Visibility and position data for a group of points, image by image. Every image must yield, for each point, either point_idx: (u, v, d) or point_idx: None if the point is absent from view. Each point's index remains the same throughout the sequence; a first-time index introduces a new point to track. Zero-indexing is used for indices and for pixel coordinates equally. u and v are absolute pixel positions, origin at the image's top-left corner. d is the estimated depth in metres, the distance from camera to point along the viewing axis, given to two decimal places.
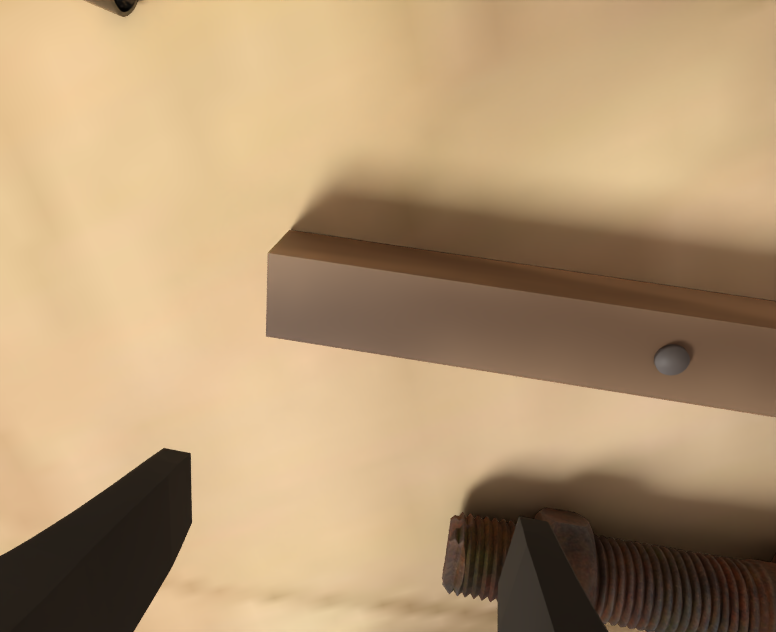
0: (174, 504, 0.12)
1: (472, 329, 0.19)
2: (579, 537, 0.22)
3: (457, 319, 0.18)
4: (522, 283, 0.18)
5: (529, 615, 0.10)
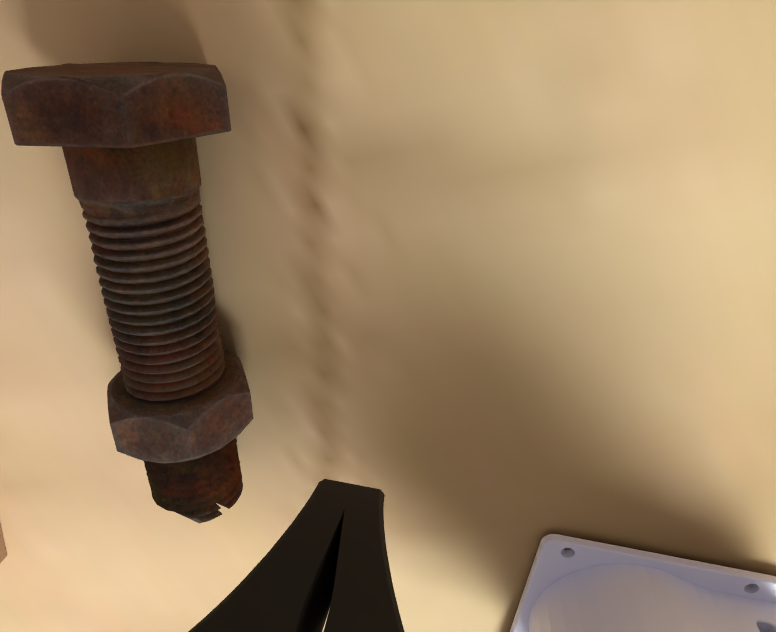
0: None
1: None
2: None
3: None
4: None
5: None
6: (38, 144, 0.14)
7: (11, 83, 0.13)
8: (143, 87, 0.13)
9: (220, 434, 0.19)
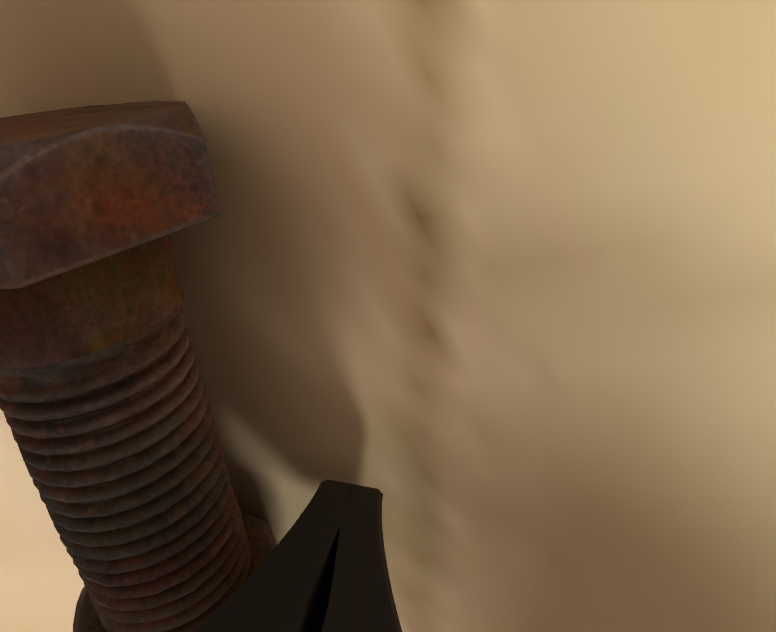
0: None
1: None
2: None
3: None
4: None
5: None
6: None
7: None
8: (29, 167, 0.06)
9: None
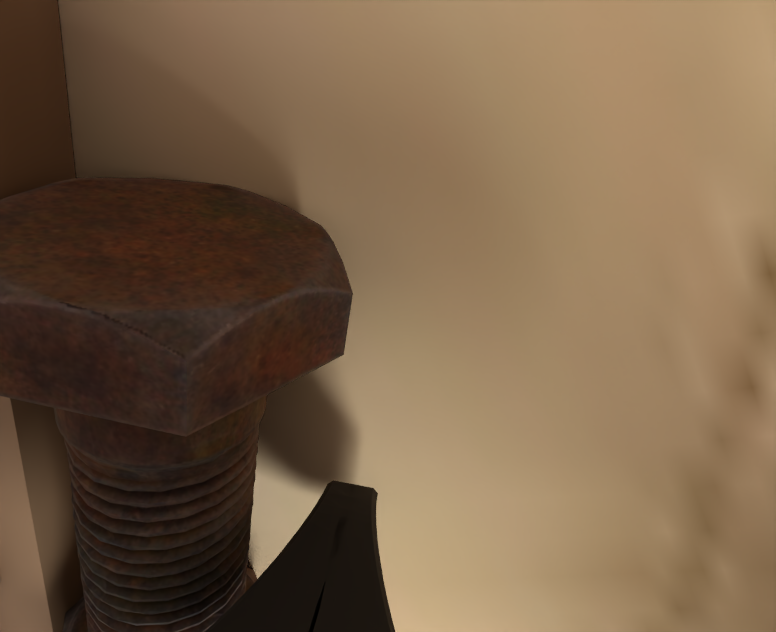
0: None
1: None
2: None
3: None
4: None
5: None
6: None
7: None
8: (227, 335, 0.07)
9: None
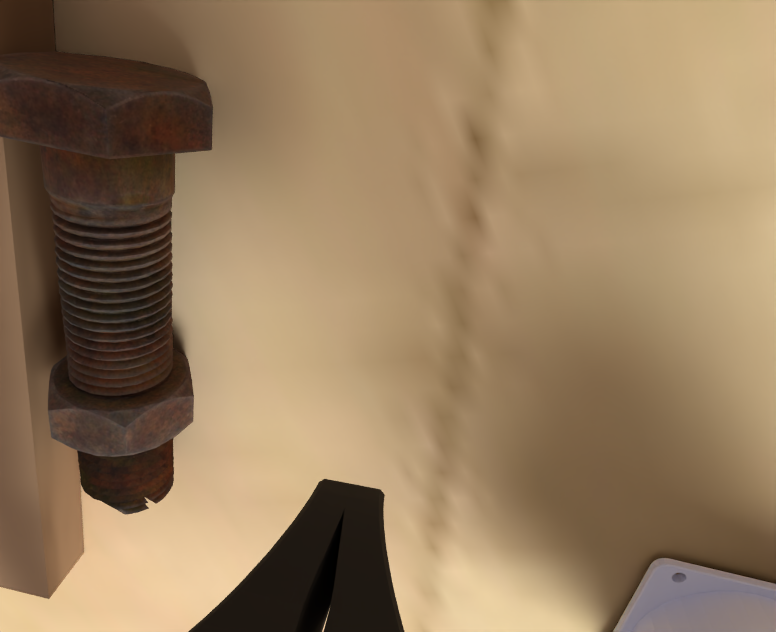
0: None
1: None
2: None
3: None
4: None
5: None
6: (14, 138, 0.14)
7: None
8: (129, 103, 0.13)
9: (158, 434, 0.19)
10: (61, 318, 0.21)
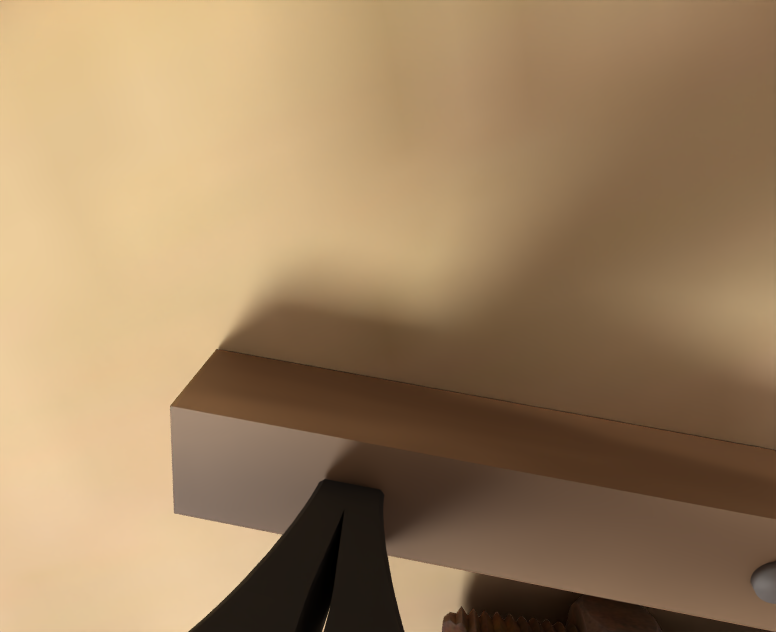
0: None
1: (478, 523, 0.12)
2: None
3: (456, 509, 0.12)
4: (555, 457, 0.12)
5: None
6: None
7: None
8: None
9: None
10: None
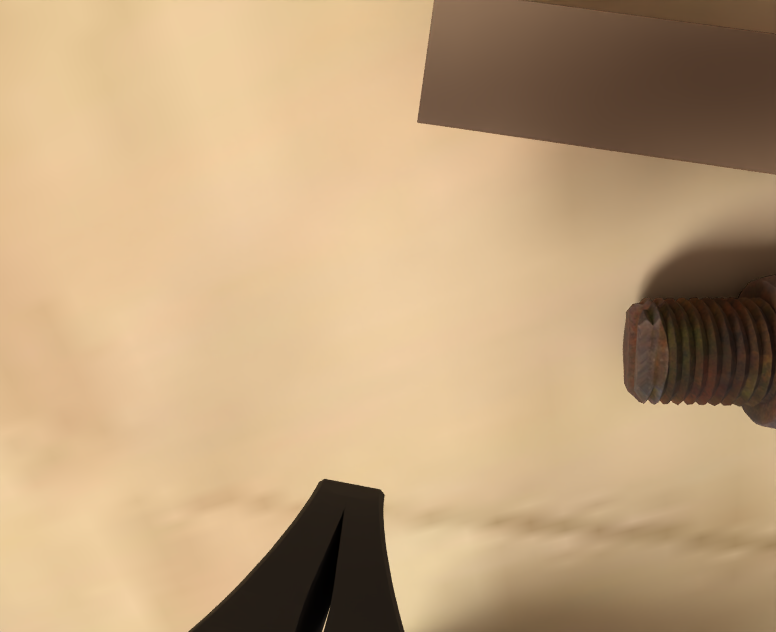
0: None
1: (707, 100, 0.14)
2: None
3: (689, 85, 0.14)
4: None
5: None
6: None
7: None
8: None
9: None
10: None
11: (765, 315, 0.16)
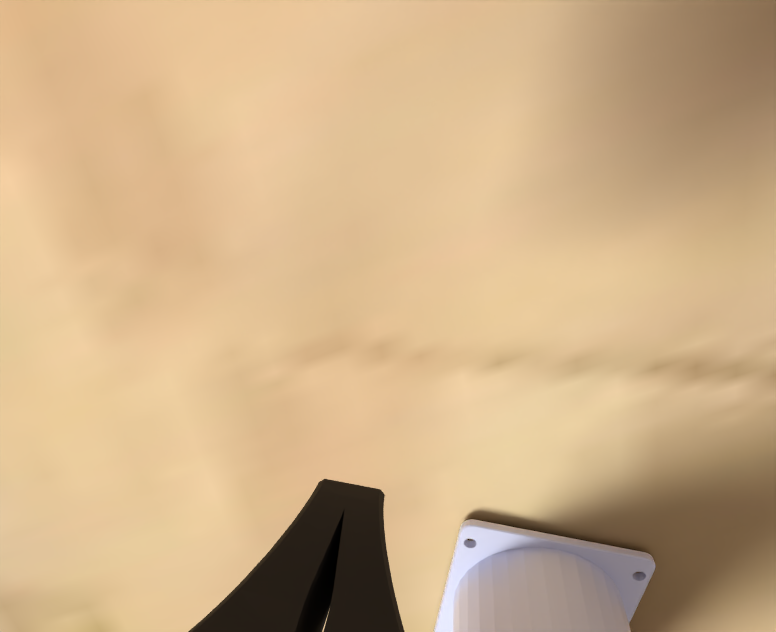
0: None
1: None
2: None
3: None
4: None
5: None
6: None
7: None
8: None
9: None
10: None
11: None
